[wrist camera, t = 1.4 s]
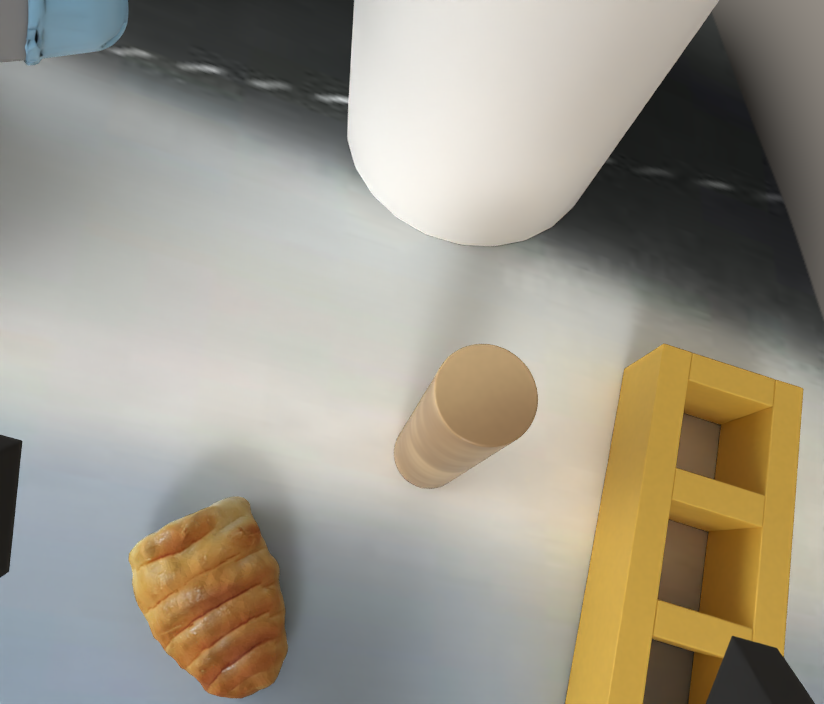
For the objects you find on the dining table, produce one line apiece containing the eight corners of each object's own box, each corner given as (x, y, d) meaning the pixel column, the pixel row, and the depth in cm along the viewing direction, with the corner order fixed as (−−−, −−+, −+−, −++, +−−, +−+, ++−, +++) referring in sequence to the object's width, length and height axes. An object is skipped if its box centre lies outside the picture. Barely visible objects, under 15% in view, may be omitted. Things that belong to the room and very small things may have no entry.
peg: (382, 435, 37) (416, 365, 24) (444, 409, 38) (509, 328, 25) (410, 500, 36) (461, 464, 23) (473, 472, 37) (556, 422, 24)
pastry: (322, 649, 33) (321, 660, 29) (198, 725, 31) (181, 747, 28) (243, 487, 35) (233, 479, 31) (122, 551, 33) (97, 550, 30)
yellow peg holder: (555, 751, 33) (594, 783, 28) (624, 368, 40) (663, 343, 36) (708, 796, 33) (771, 835, 29) (748, 408, 41) (804, 388, 36)
